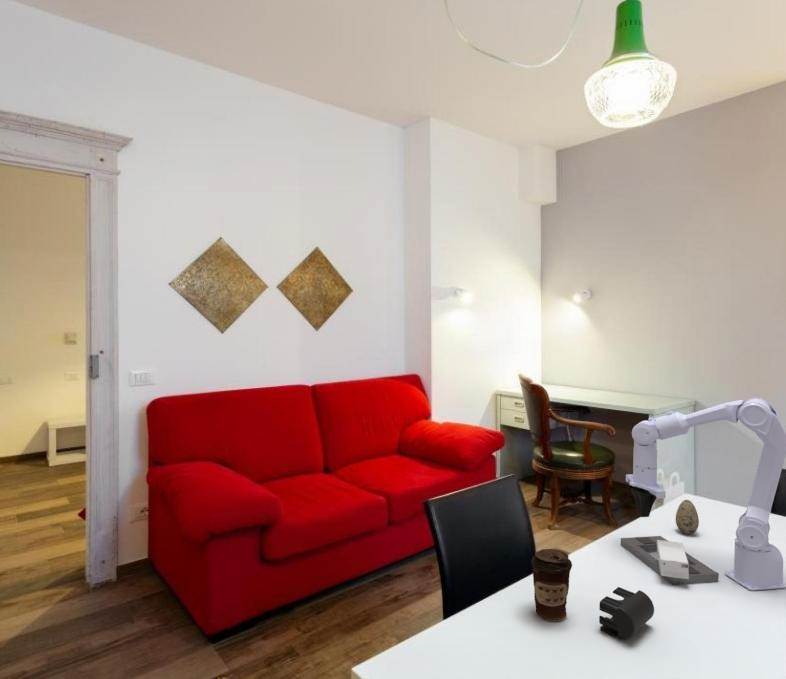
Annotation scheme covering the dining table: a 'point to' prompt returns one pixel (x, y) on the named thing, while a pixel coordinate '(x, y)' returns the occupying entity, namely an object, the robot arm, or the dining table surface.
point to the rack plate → (649, 544)
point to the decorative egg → (687, 517)
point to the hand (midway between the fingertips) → (644, 516)
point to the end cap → (625, 613)
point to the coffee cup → (551, 583)
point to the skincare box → (672, 559)
